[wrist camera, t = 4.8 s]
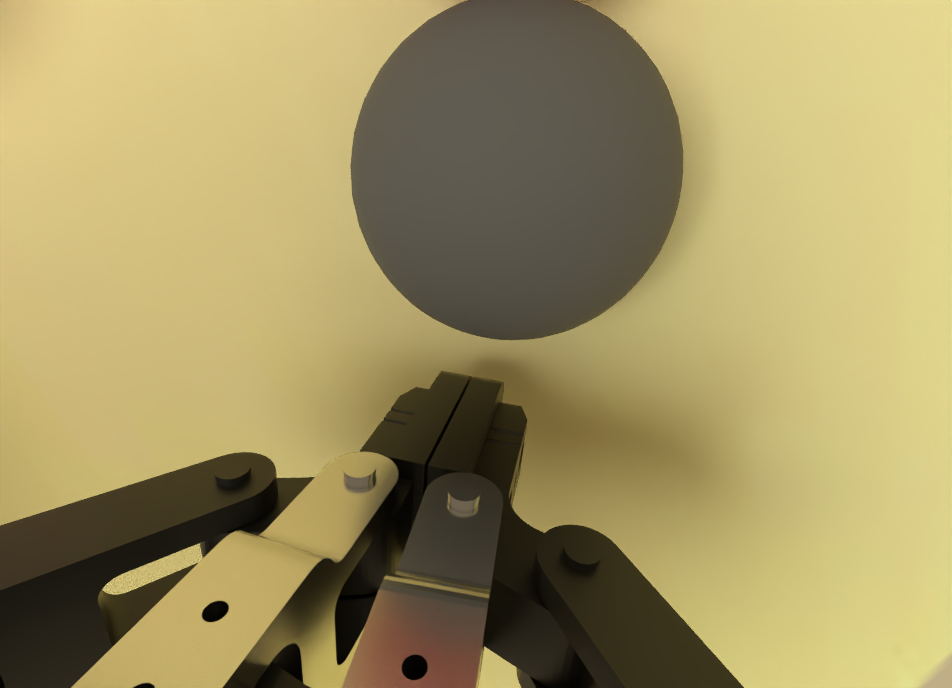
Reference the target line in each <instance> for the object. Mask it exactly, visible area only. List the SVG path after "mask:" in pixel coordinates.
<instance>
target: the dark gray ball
mask: <svg viewBox="0 0 952 688" xmlns="http://www.w3.org/2000/svg"><path fill="white" fill-rule="evenodd" d="M682 175H683V148H682V139H681V133H680V127H679V121H678V116H677V113H676V110H675V108H674V105H673V102H672V99H671V96H670V93H669V91H668V88H667V86H666V84H665V82H664V80H663V78H662V76H661V74H660V73H659V71H658V69H657V67H656V66H655V65H654V63H653V62H652V61H651V59H650V58H649V56H648V55H647V54H646V52H645V51H644V50H643V49H642V47H641V46H640V45H639V44H638V43H637V42H636V41H635V40H634V39H633V38H632V37H631V36H630V35H629V34H628V33H627V32H626V31H625V30H624V29H623V28H621V27H620V26H619V25H618V24H616V23H615V22H614V21H612V20H611V19H610V18H608V17H607V16H605V15H603V14H601V13H600V12H598V11H596V10H594V9H593V8H591V7H589V6H587V5H584V4H582V3H579V2H577V1H574V0H468V1H465V2H462V3H459V4H457V5H455V6H453V7H451V8H449V9H447V10H445V11H443V12H441V13H440V14H438V15H436V16H434V17H433V18H431V19H429V20H428V21H427V22H425V23H424V24H423V25H422V26H421V27H419V28H418V29H417V30H416V31H414V32H413V33H412V34H411V35H410V36H409V37H407V38H406V39H405V40H404V41H403V42H402V43H401V44H400V45H399V46H398V48H397V49H396V50H395V51H394V52H393V54H392V55H391V56H390V57H389V59H388V60H387V61H386V63H385V64H384V65H383V67H382V68H381V69H380V71H379V73H378V75H377V76H376V78H375V80H374V82H373V83H372V85H371V87H370V89H369V91H368V94H367V96H366V98H365V100H364V102H363V105H362V109H361V112H360V115H359V118H358V122H357V125H356V129H355V132H354V139H353V147H352V157H351V180H352V195H353V200H354V205H355V209H356V213H357V217H358V222H359V226H360V228H361V231H362V233H363V236H364V238H365V240H366V243H367V245H368V247H369V250H370V252H371V254H372V255H373V257H374V259H375V261H376V262H377V264H378V265H379V267H380V268H381V270H382V271H383V273H384V274H385V275H386V277H387V278H388V280H389V281H390V282H391V283H392V284H393V285H394V286H395V288H396V289H397V290H398V291H399V292H400V293H401V294H402V295H403V296H404V297H405V298H407V299H408V300H409V301H410V302H411V303H412V304H413V305H415V306H416V307H417V308H418V309H420V310H421V311H423V312H424V313H426V314H427V315H429V316H430V317H432V318H434V319H435V320H437V321H439V322H441V323H443V324H445V325H447V326H450V327H452V328H454V329H457V330H460V331H462V332H466V333H469V334H472V335H476V336H480V337H485V338H491V339H499V340H523V339H535V338H542V337H546V336H550V335H554V334H558V333H561V332H565V331H567V330H570V329H573V328H575V327H577V326H579V325H581V324H584V323H586V322H588V321H590V320H591V319H593V318H595V317H597V316H599V315H600V314H602V313H603V312H604V311H606V310H607V309H609V308H610V307H611V306H613V305H614V304H615V303H617V302H618V301H619V300H621V299H622V298H623V297H624V296H625V295H626V294H627V293H628V292H629V291H630V290H631V289H632V288H633V287H634V286H635V285H636V283H637V282H638V281H639V280H640V279H641V278H642V277H643V276H644V274H645V273H646V271H647V270H648V269H649V267H650V266H651V264H652V263H653V261H654V260H655V258H656V257H657V255H658V253H659V252H660V250H661V248H662V246H663V244H664V242H665V240H666V238H667V236H668V233H669V231H670V228H671V225H672V223H673V220H674V217H675V213H676V210H677V206H678V202H679V197H680V192H681V186H682Z"/></svg>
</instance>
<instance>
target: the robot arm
mask: <svg viewBox="0 0 952 688" xmlns="http://www.w3.org/2000/svg"><path fill="white" fill-rule="evenodd" d="M503 391H504V382H500V381H495V380H489V379H483V378H478V377H473V378H472V377H471V376H466V375H460V374H455V373H449V372H443V371H441V372H440V373H439V375H438V377H437V378H436V380H435V381H434V383H433V384H432V386H431V387H430V389H423V388H418V387H416V388H414V389H412V390H410V391H408V392H407V393H405V394H403V395H401V396H400V397H399V398H398V400H397V401H396V402H395V404H394V405H393V407H392V408H391V411H389V412H388V413H387V415H386V416H385V417H384V421H382V422H381V423H380V424H379V426H378V427H377V428H376V430H375V431H374V432H373V434H372V435H371V437H370V438H369V439H368V441H367V442H366V443H365V445H364V446H363V447H362V449H361V450H360V452H354V453H349V454H345V455H342V456H340V457H338V458H335V459H334V460H332V461H331V462H329V463H328V464H327V465H326V466H325V467H324V468H323V469H322V470H321V471H320V472H319V474H318V475H317V476H316V477H310V478H277V477H276V468H275V465H274V463H273V462H272V461H271V460H270V459H269V458H267V457H266V456H263V455H260V454H257V453H248V452H242V453H233V454H228V455H224V456H221V457H217V458H214V459H211V460H208V461H205V462H202V463H198V464H195V465H192V466H189V467H186V468H182V469H179V470H176V471H173V472H170V473H167V474H163V475H160V476H157V477H154V478H151V479H147V480H144V481H141V482H138V483H135V484H132V485H128V486H125V487H122V488H119V489H116V490H112V491H109V492H106V493H103V494H100V495H97V496H93V497H90V498H87V499H84V500H81V501H77V502H74V503H71V504H68V505H65V506H62V507H58V508H55V509H52V510H49V511H46V512H42V513H39V514H36V515H33V516H30V517H27V518H23V519H20V520H17V521H14V522H11V523H7V524H4V525H1V526H0V688H478V686H479V679H480V672H481V665H482V658H483V651H484V646H485V647H487V648H488V649H490V650H491V651H493V652H494V653H496V654H497V655H499V656H500V657H502V658H503V659H505V660H506V661H508V662H509V663H511V664H512V665H514V666H516V667H517V676H518V680H519V683H520V685H521V688H744V687H743V686H742V685H741V684H740V683H739V682H738V680H737V679H736V678H735V677H734V676H733V675H732V674H731V673H730V671H729V670H728V669H727V668H726V667H725V666H724V665H723V664H722V663H721V661H720V660H719V659H718V658H717V657H716V656H715V655H714V654H713V653H712V651H711V650H710V649H709V648H708V647H707V646H706V645H705V644H704V643H703V641H702V640H701V639H700V638H699V637H698V636H697V635H696V634H695V633H694V631H693V630H692V629H691V628H690V627H689V626H688V625H687V624H686V622H685V621H684V620H683V619H682V618H681V617H680V616H679V615H678V614H677V612H676V611H675V610H674V609H673V608H672V607H671V606H670V605H669V604H668V602H667V601H666V600H665V599H664V598H663V597H662V596H661V595H660V594H659V592H658V591H657V590H656V589H655V588H654V587H653V586H652V585H651V583H650V582H649V581H648V580H647V579H646V578H645V577H644V576H643V575H642V573H641V572H640V571H639V570H638V569H637V568H636V567H635V566H634V565H633V563H632V562H631V561H630V560H629V559H628V558H627V557H626V556H625V555H624V553H623V552H622V551H621V550H620V549H619V548H618V547H617V546H616V545H615V544H614V543H613V542H612V541H611V540H610V539H609V538H607V537H606V536H605V535H603V534H601V533H599V532H598V531H595V530H593V529H590V528H587V527H584V526H578V525H562V526H558V527H555V528H552V529H550V530H549V531H547V532H546V533H543V532H541V531H539V530H537V529H535V528H533V527H531V526H530V525H528V524H527V523H525V522H524V521H523V520H522V519H521V518H520V517H519V516H518V515H517V514H516V513H515V512H514V510H513V508H512V504H513V500H514V496H515V491H516V487H517V483H518V479H519V474H520V468H521V461H522V454H523V447H524V440H525V433H526V426H527V418H526V416H525V414H524V411H523V409H522V407H521V406H516V405H510V404H505V403H502V400H503ZM198 543H200V546H201V551H202V557H203V559H202V560H201V561H200V562H199V563H196V564H194V565H192V566H189V567H187V568H185V569H182V570H180V571H177V572H175V573H173V574H170V575H168V576H166V577H163V578H161V579H158V580H156V581H154V582H151V583H149V584H146V585H144V586H142V587H139V588H137V589H135V590H132V591H130V592H127V593H124V594H119V595H112V594H107V593H105V592H104V591H103V590H102V588H103V587H104V586H105V585H106V584H107V583H108V582H109V581H111V580H112V579H113V578H115V577H117V576H119V575H121V574H123V573H125V572H128V571H130V570H133V569H135V568H138V567H140V566H143V565H145V564H148V563H151V562H153V561H156V560H158V559H161V558H163V557H166V556H168V555H171V554H173V553H176V552H178V551H181V550H183V549H186V548H188V547H191V546H193V545H196V544H198Z"/></svg>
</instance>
